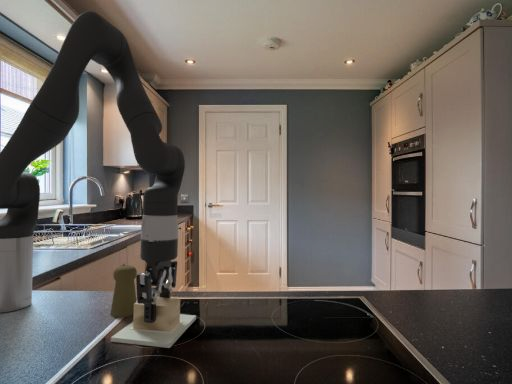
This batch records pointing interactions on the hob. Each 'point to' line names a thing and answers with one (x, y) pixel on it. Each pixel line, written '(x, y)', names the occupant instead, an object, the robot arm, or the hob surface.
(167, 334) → the board
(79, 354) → the hob surface
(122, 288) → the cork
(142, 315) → the oak block
